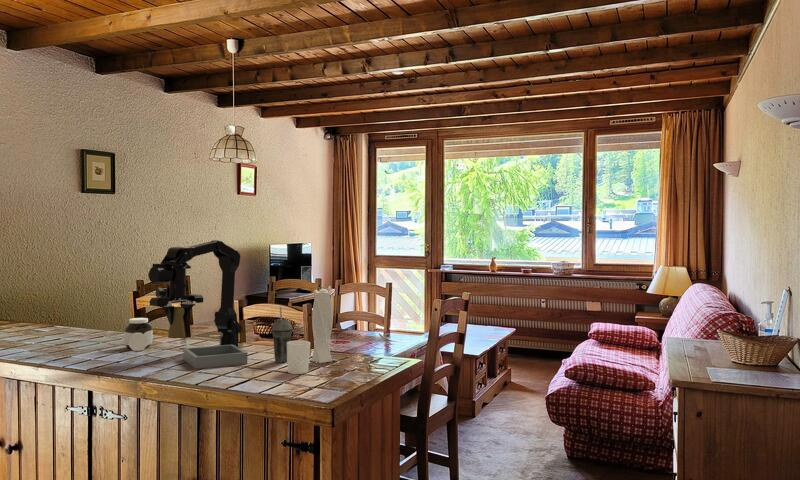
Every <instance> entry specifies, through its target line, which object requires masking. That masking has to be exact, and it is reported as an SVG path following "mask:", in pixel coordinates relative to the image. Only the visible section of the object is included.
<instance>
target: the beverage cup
mask: <svg viewBox="0 0 800 480" xmlns="http://www.w3.org/2000/svg"><path fill="white" fill-rule="evenodd" d="M279 314H280V315H279V317H280V318H278V319H277V320H275V322H274V323H273V324H272V329H271V331H272V332H271V333H272V337H273V350H274V351H273V352H274V363H276V362H278V364H283V363H282V362H286V363H287V342H289V341H291V336H292V333H293V328H292V327H293V326H292V324H291V322H290V320H288V319H286V318H283V315H282V307H281V306H279Z"/></svg>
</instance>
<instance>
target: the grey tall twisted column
mask: <svg viewBox="0 0 800 480" xmlns="http://www.w3.org/2000/svg"><path fill="white" fill-rule="evenodd" d="M318 290H319V291H318ZM318 290H317V289H315V290H314V292H313V293H314V301H313V306H312V314H311V315H312V316H311V322H312V323H311V325H312V333H313V340H314V349H313V352H312V356H311V359H309V360H310V361H309V362H311V361H314V362H317V363H316V364H318V363H320V364H319V365H322V364H321V363H325V362H329V361H332V360H333V359H332V355H331V354H332V353H331V349H330V344H329V343H330V339H331V335H332V330H333V329H332V328H333V321H334V319H333V318H334V317H333V313H334V312H333V305H332V299H331V298H332V297H331V294H332V286H331V285H329V286H328V287H327V289H326V288H325V289H322V288H321V289H318ZM314 362H313V363H314ZM325 364H326V363H325Z"/></svg>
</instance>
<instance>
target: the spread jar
mask: <svg viewBox="0 0 800 480" xmlns="http://www.w3.org/2000/svg"><path fill="white" fill-rule="evenodd" d="M128 321H129V323H128V324H127V325H126V327H124V331H123V344H124V346H125V347H126V348H127V349H129V350H132V351H134V352H141V351H144V348H145V349H147V348H149V347H150V346H151V345H152V343H153V333H154V332H153V327H152V326H151V325H150V324H149V323H148V322H149V318H148V317H133V318H129V320H128Z"/></svg>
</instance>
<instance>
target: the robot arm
mask: <svg viewBox="0 0 800 480" xmlns="http://www.w3.org/2000/svg"><path fill="white" fill-rule="evenodd" d="M210 253H213V255H214V257H216V259H218V265H219V268H220V269H221V272H222V273H221V275H222V276H221V291H220V293H221V294H220V307H219V308H218V309H219V310H218V311H215V312H214V319H213V322H214V324H215V325H214V326H215V327H216V329H217V332H218V333H220V336H219V345H218V346H221V345H235V346H237V347H238V348H240V346H239V334H241V333H242V331H243V326H242V325H241V324H240V323H239V322H238V314H237V312H236V310H235V308H234V301H235V299H234V297H235V284H236V283H235V281H236V280H235V279H236V271H237V270H238V268H239V267H240V262H241V253H239V251H238V250H235V248H233V247H231V246H229V245H227V244H225V242H223V241H221V240H216V239H215V240H210V241H207V242H204V243H203V242H202V243H199V244H195V245H191V246H172V247H169V248H168V249H167V252H166V254H165V256H164V257H163V259H162V260H161V262H160V263H152V267H151V268H150V269H149V271H148V280H149V281H150V282H151V283H152V284H156V283H157V284H158V283H166V288H163V287H156V288H155V297H151V298H150V299H149V307H150V306H151V307H158V308H161V309H162V310H163V311H164V313H165V316H166V318H167V321H168V323H169V326H170V325H172V323H173V316H174V307H175V306H174V305H173V304H177V303H179V304H180V307H183V308H184V310H185V313H184V315H183V321H184V323H185V322H186V320H187V318H188V316H189V314H190V312H191V310H192V309H193V307H195V306H196V304H202V303H204V297H203V295H202V294H196V293H194V294H192V293H191V294H186V293H187V291H186V289H187V288H188V287H189V284H188V283H187V280H186V279H187V277H186V276H187V270H189V269H191V268H192V266H190V265H189V264H188V262H189V261H191V260H192V259H193V258H195V257H199V256H202V255H205V254H206V255H207V254H210ZM195 303H196V304H195ZM240 349H241V348H240Z"/></svg>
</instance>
